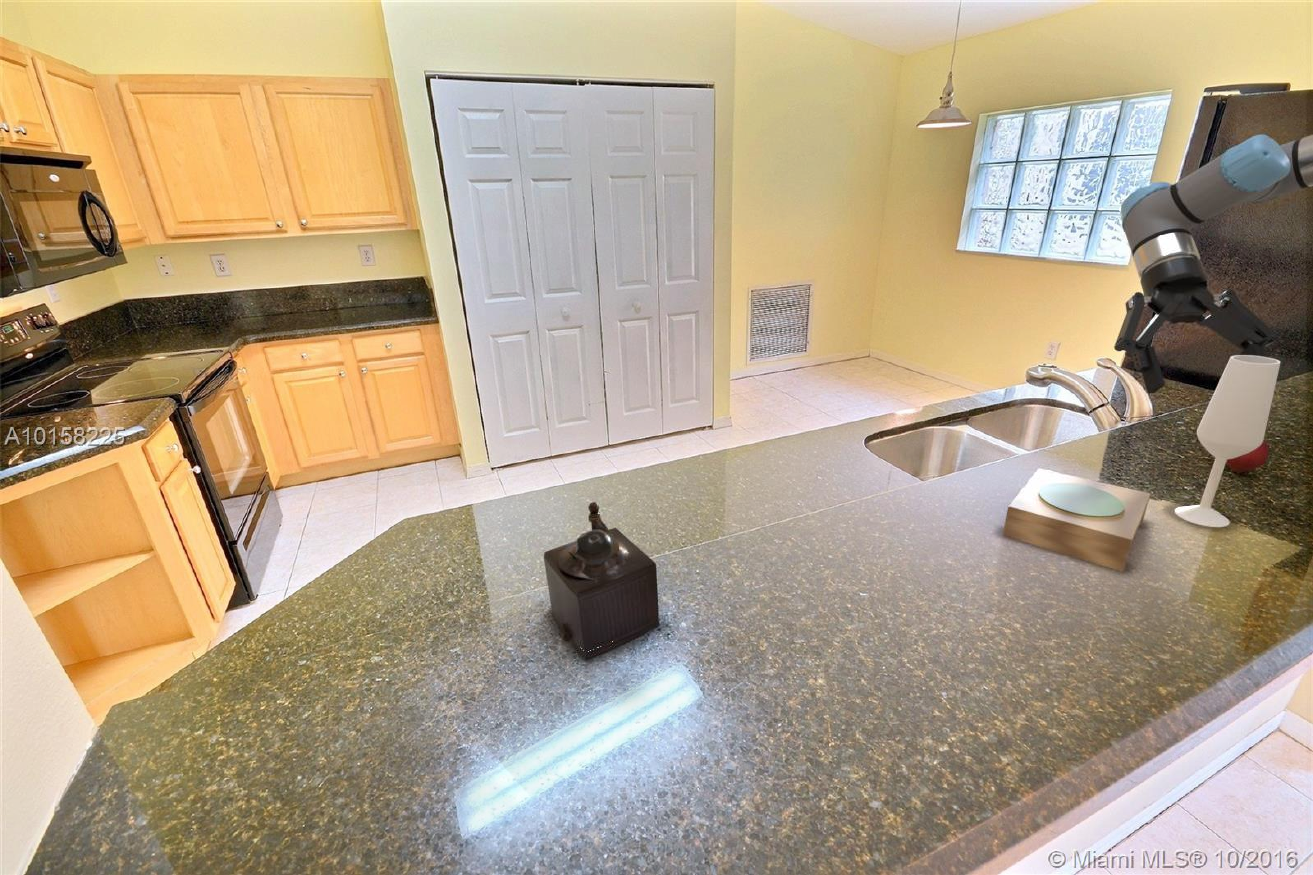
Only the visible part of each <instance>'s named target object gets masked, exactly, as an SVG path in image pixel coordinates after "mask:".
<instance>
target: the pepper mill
mask: <svg viewBox="0 0 1313 875" xmlns="http://www.w3.org/2000/svg"><path fill="white" fill-rule="evenodd" d="M587 509H588V511H589V513H588V516H587V518H588V522H589V523H590V524H591V530H589V531H586V532H582V533H581V534H580V535H579V536H578V538H577V539H576V540H575V541H572V542H569V543H565V544H563V545H561V546H557V547H554V548H552V549H549V550H546V551H544V552H543V562H544V567H545V574H546V576H545V577H546V582H547V587H548V588H547V589H548V594H549V601H550V606H551V607H550V608H551V611H550V615H551V617H552V618H553V621H554V622H555V624H556V626H557V631H558V634H559V635H560V636H561V637H562V638H563V639H564V640H565V641H566V642H568V643H569V644H570V645H571V646H572V649H574V650H575V652H576V653H577V654H579V655H580V656H581V658H583V659H584V660H585V661H588V660H591V659H594V658H596V657H599V656H601V655H604V654H607V653H609V652H612V651H614V650H615V649H617V648H620V647H622V646H624V645H626V644H628V643H631V642H633V641H634V640H637V639H638V638H641V637H642V636H644V635H646V634H648V633H649V632H651V631H652V630H654V629H656V628H657V627H659V626H660V621H659V616H660V615H659V614H660V613H659V589H658V588H659V587H658V573H657V572H658V571H657V563H656V562H655V561H654V560H653V559H652V558H651V557H650V556H648V555H647V553H645V552H644V551H642V550H641V549H640V547H638V546H637V545H636V544H635V543H634V542H633V541H631V540H630V539H629V538H628V537H627V536H626V535H625V534H623V532H621V531H620V530H619V529H618V528H617V527H612V528H610V529H609V527H607V524H605V523H604V522H603V519H602V517H601V512H600V511H599V510H600V504H599V503H598V502H596V501H592V502H589V505H588V507H587ZM612 641H613V642H612ZM600 646H601V647H600ZM580 647H581V648H582V649H581V648H580ZM597 647H599V648H597ZM593 649H594V650H593ZM583 650H584V651H583ZM590 650H591V651H590ZM588 651H589V652H588Z"/></svg>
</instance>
